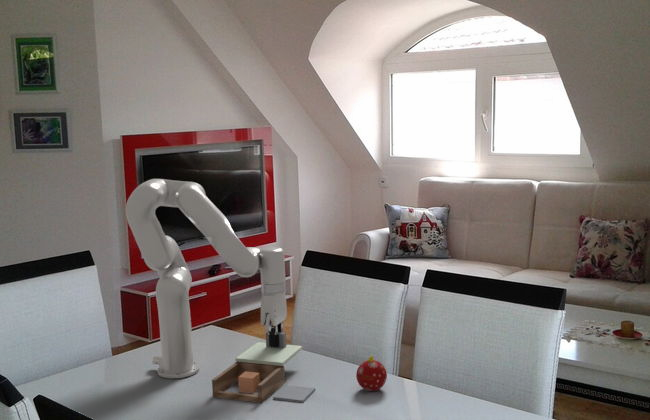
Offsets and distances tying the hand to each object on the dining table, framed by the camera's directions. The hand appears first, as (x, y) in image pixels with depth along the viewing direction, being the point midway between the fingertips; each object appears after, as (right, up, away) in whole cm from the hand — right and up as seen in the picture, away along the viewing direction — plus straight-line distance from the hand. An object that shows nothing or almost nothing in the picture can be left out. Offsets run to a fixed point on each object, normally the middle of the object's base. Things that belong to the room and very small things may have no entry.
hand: (276, 344), depth 223 cm
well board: (-7, -10, -17) cm, 21 cm away
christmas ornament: (+28, -9, -21) cm, 36 cm away
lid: (-2, -2, -4) cm, 5 cm away
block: (-7, -10, -17) cm, 21 cm away
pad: (+7, -10, -22) cm, 25 cm away
